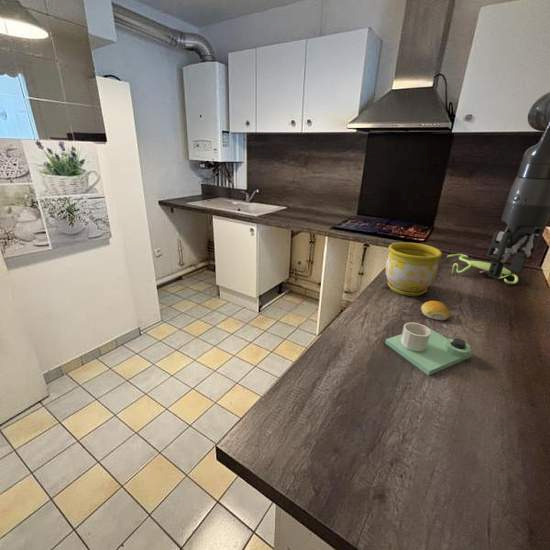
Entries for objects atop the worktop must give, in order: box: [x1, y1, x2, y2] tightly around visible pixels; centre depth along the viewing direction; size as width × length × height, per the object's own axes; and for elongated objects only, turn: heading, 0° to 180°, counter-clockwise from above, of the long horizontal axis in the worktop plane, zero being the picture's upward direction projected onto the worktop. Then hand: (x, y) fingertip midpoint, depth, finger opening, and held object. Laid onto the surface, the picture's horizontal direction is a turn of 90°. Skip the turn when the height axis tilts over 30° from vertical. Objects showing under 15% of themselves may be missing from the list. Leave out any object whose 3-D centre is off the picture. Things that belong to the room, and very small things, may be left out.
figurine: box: [446, 253, 519, 285], centre depth 129 cm, size 18×27×6 cm
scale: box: [384, 327, 473, 376], centre depth 78 cm, size 16×14×3 cm
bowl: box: [401, 321, 431, 352], centre depth 77 cm, size 6×6×5 cm
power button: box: [452, 337, 467, 349], centre depth 76 cm, size 3×3×2 cm
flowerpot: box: [385, 241, 443, 297], centre depth 111 cm, size 18×18×16 cm
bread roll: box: [420, 300, 451, 322], centre depth 96 cm, size 8×9×4 cm
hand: (504, 274), depth 66 cm, fingers open, 8 cm apart
